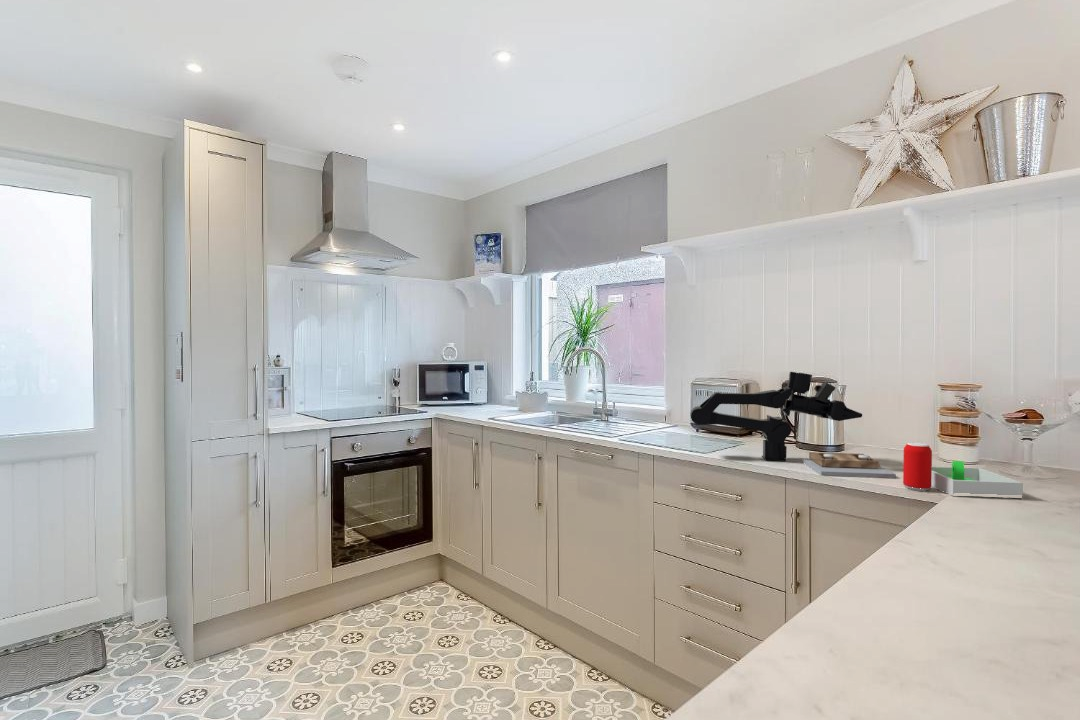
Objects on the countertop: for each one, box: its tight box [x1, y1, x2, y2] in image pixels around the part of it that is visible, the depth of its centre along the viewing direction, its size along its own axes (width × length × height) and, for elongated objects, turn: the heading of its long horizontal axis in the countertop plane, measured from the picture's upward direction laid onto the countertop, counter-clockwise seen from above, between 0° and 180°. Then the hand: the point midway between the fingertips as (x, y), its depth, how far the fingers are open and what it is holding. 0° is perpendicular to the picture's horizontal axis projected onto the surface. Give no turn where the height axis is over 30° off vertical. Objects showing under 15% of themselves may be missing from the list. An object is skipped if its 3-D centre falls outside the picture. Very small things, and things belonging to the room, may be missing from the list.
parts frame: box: [931, 466, 1024, 496], centre depth 146 cm, size 16×17×4 cm
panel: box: [808, 451, 880, 468], centre depth 172 cm, size 16×12×2 cm
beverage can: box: [902, 442, 933, 492], centre depth 147 cm, size 6×6×12 cm
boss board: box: [802, 454, 897, 479], centre depth 169 cm, size 20×18×4 cm
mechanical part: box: [949, 460, 976, 481], centre depth 147 cm, size 12×6×8 cm, turn 149°
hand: (857, 414), depth 179 cm, fingers open, 9 cm apart
